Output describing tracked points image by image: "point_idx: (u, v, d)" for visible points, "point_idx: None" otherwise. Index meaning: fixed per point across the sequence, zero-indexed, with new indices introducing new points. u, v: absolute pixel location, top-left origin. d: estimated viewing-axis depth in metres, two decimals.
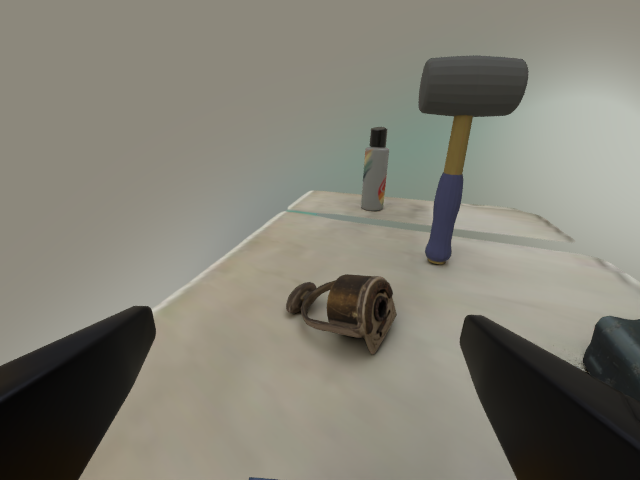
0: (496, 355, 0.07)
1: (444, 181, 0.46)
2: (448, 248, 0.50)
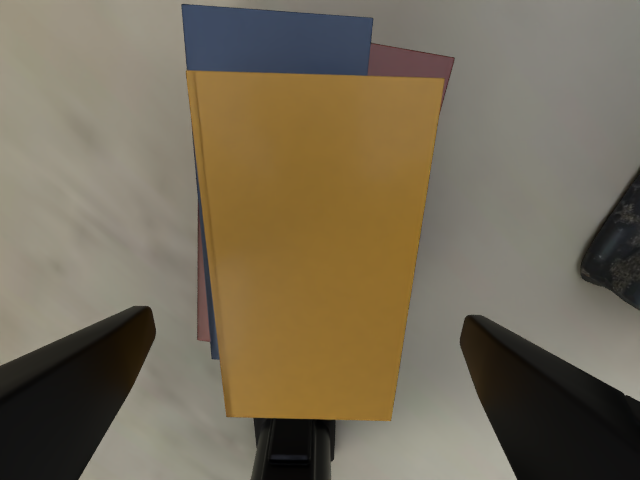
0: (496, 355, 0.07)
1: None
2: None
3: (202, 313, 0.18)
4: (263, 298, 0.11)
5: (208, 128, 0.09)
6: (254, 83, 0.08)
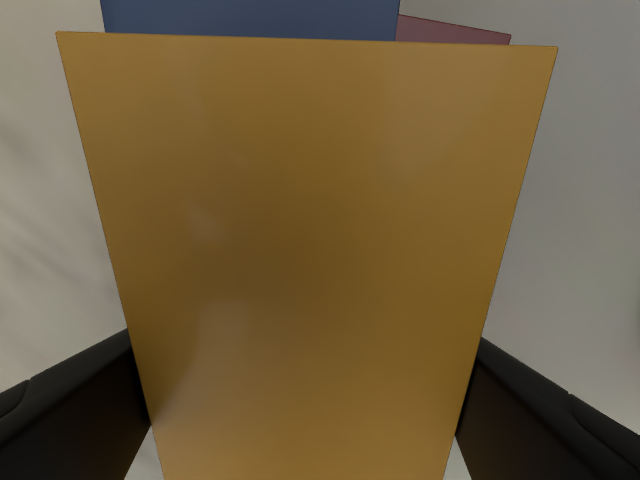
0: None
1: None
2: None
3: None
4: (227, 408, 0.07)
5: (111, 142, 0.05)
6: (190, 57, 0.04)
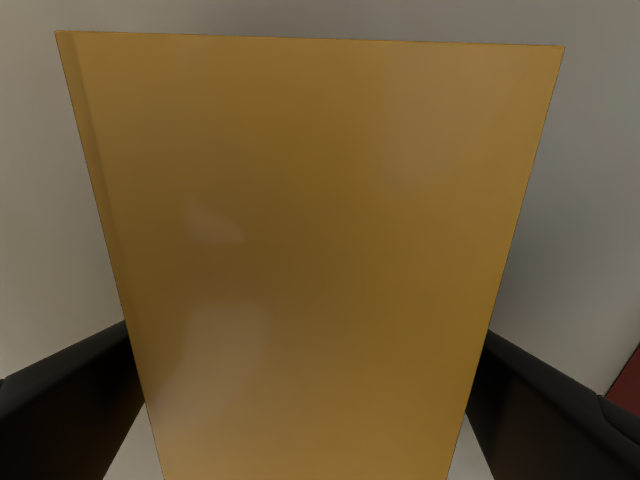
0: None
1: None
2: None
3: None
4: (228, 412, 0.07)
5: (111, 143, 0.05)
6: (191, 56, 0.04)
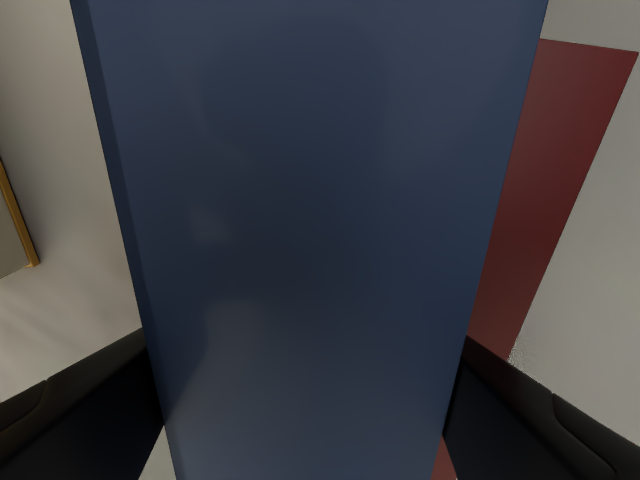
0: None
1: None
2: None
3: None
4: None
5: None
6: None
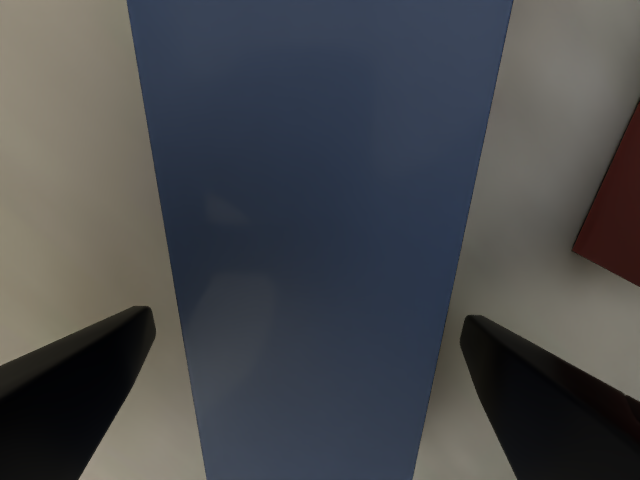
0: (496, 355, 0.07)
1: None
2: None
3: None
4: None
5: None
6: None
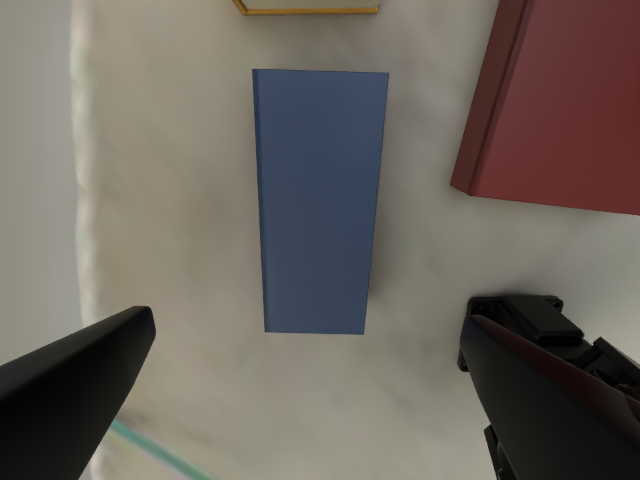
0: (496, 355, 0.07)
1: None
2: None
3: (486, 157, 0.16)
4: None
5: None
6: None
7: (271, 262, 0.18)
